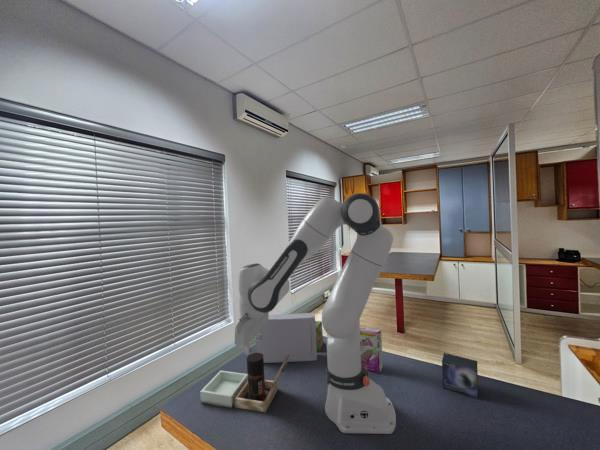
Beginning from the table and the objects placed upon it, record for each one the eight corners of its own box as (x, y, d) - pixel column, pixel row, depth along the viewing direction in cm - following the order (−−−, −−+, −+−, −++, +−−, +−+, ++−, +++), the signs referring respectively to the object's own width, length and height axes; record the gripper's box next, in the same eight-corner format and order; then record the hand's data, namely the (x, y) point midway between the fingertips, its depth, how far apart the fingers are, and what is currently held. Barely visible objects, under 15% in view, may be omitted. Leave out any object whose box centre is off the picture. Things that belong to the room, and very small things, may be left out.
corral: (277, 389, 93) (277, 381, 93) (265, 412, 82) (265, 403, 82) (250, 385, 96) (249, 377, 96) (234, 407, 85) (234, 398, 85)
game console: (317, 361, 110) (315, 317, 110) (257, 364, 111) (254, 320, 110) (316, 354, 116) (314, 312, 116) (259, 356, 117) (257, 315, 116)
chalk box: (319, 352, 118) (317, 321, 117) (301, 350, 121) (299, 320, 120) (323, 343, 126) (322, 314, 126) (306, 341, 129) (305, 313, 129)
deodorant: (257, 406, 85) (255, 363, 85) (245, 400, 88) (243, 359, 88) (268, 395, 90) (266, 355, 90) (256, 390, 93) (254, 351, 93)
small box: (442, 388, 89) (441, 360, 89) (444, 378, 94) (443, 351, 94) (478, 400, 83) (477, 369, 82) (478, 389, 88) (477, 360, 88)
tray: (248, 384, 97) (248, 374, 97) (231, 407, 85) (231, 396, 85) (221, 380, 101) (220, 370, 100) (200, 402, 88) (200, 391, 88)
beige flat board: (277, 380, 93) (280, 382, 93) (265, 402, 82) (268, 405, 82) (288, 354, 92) (291, 356, 91) (277, 373, 81) (280, 375, 80)
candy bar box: (353, 367, 105) (351, 328, 104) (357, 361, 109) (355, 324, 109) (380, 374, 99) (378, 334, 98) (383, 368, 103) (381, 329, 103)
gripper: (246, 321, 78) (248, 364, 78) (270, 300, 98) (272, 334, 98) (228, 319, 80) (230, 361, 80) (256, 299, 99) (257, 333, 100)
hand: (253, 346), depth 89 cm, fingers open, 8 cm apart
